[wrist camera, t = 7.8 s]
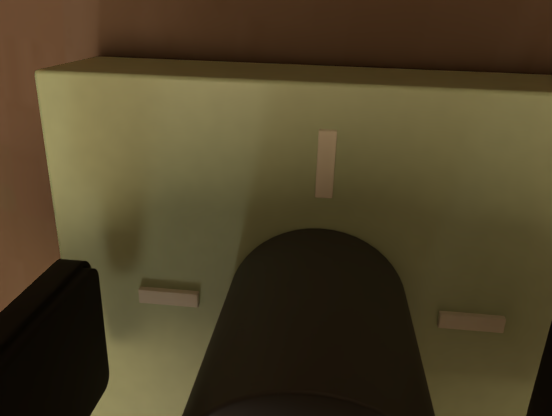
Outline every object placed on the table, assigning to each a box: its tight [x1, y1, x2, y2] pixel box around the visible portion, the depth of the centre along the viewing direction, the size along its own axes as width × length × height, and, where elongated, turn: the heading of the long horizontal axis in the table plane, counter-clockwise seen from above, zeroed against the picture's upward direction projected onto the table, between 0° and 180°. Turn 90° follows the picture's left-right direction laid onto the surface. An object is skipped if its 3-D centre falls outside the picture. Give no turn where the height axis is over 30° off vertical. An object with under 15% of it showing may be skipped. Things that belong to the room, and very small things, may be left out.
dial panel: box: [35, 56, 552, 416], centre depth 13 cm, size 10×12×3 cm
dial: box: [182, 228, 435, 416], centre depth 9 cm, size 4×4×5 cm
